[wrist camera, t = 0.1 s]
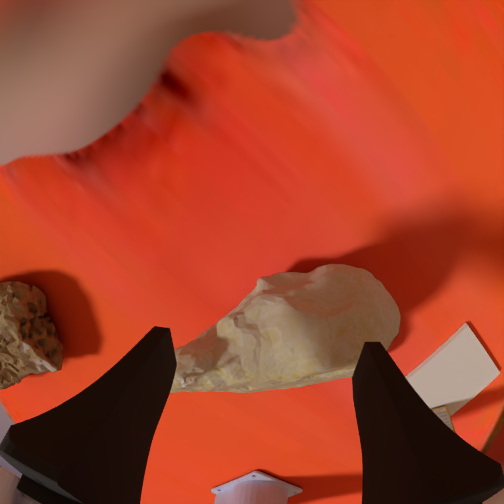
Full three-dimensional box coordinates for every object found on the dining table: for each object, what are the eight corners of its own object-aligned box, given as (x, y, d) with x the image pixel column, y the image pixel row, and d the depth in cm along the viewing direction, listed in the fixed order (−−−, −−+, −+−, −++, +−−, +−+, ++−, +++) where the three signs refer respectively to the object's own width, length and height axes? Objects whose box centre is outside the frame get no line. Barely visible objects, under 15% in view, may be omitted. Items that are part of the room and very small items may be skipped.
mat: (441, 418, 25) (443, 421, 25) (397, 382, 24) (398, 386, 23) (498, 370, 23) (500, 373, 22) (465, 322, 21) (467, 325, 21)
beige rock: (405, 261, 22) (300, 167, 12) (432, 351, 19) (352, 357, 8) (259, 324, 31) (117, 296, 20) (270, 396, 27) (120, 402, 17)
